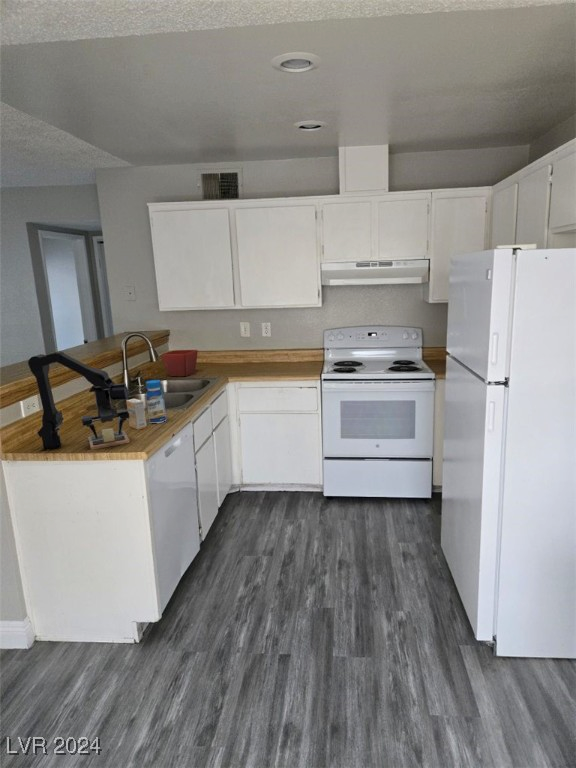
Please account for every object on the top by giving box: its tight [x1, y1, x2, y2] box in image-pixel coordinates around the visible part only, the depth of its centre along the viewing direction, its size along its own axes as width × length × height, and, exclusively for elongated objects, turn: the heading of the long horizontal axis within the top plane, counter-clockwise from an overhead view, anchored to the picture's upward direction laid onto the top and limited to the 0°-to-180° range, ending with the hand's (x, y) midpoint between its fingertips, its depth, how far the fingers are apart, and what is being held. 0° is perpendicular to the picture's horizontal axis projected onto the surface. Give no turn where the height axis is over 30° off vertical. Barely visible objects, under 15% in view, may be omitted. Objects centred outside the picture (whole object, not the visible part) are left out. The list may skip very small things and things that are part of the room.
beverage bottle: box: [145, 379, 167, 424], centre depth 241 cm, size 8×8×20 cm
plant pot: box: [160, 349, 198, 377], centre depth 358 cm, size 19×19×17 cm
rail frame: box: [87, 429, 130, 451], centre depth 218 cm, size 15×17×1 cm
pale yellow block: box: [101, 427, 116, 444], centre depth 214 cm, size 4×4×6 cm
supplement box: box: [125, 398, 147, 431], centre depth 235 cm, size 8×5×13 cm, turn 44°
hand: (108, 436), depth 214 cm, fingers open, 9 cm apart
